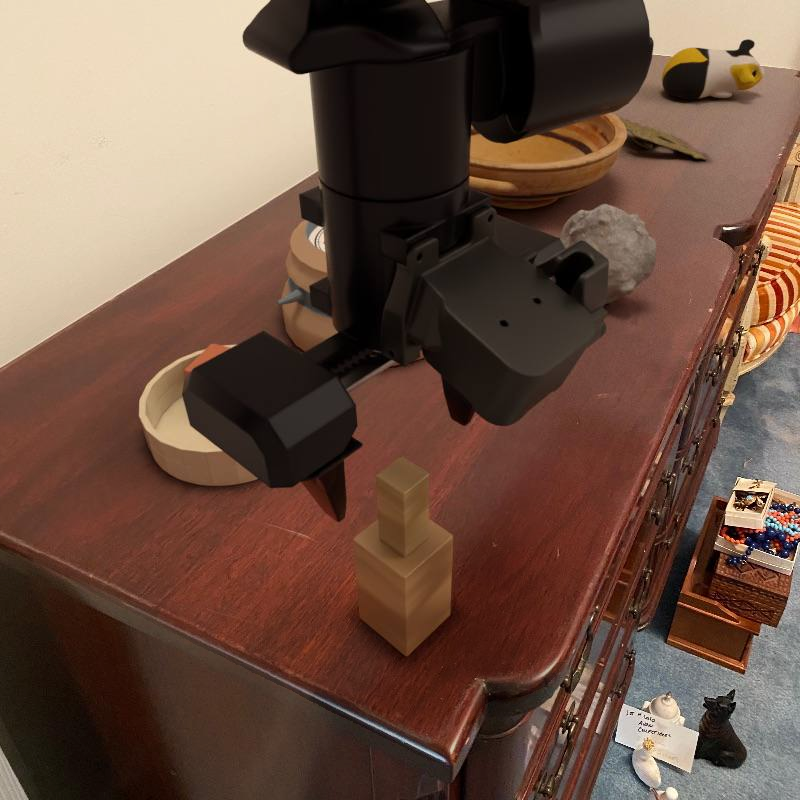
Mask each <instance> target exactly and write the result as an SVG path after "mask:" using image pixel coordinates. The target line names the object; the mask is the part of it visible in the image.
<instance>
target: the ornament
mask: <svg viewBox="0 0 800 800" xmlns="http://www.w3.org/2000/svg"><path fill="white" fill-rule="evenodd" d="M617 117H618V118H619V119H620V120H621V121H622V122H623V123H624V125H625V127H626V129H627V132H629V133H630V134H631V135H633V136H635V137H633V138H632V141H634V143H636V145H638V146H639V147H640V148H645V149H652V148H653V146H654V145H653V144H655V145H658V146H662V147H665V148H667V149H670V150H673V151H677V152H680V153H683V154H685V155H688V156H691V157H692V158H694V159H697V160H700V159H701V160H704V161H707V160H708V159H707V157H706V156H704V154H703V153H699V152H696V151H695V150H694V149H693V148H691V147H689V146H687V144H686V143H684V142H683V141H681V140H679V139H678V138H676V137H673V136H672V135H669V134H668V133H666V132H663V131H661V130H658V129H656V128H654V127H652V128H651V127H649V126H647V125H641V124H639V122H633V121H632V120H629V119H627V118H626V119H624V118H622V117H619V116H617ZM652 143H653V144H652Z"/></svg>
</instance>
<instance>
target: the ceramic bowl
mask: <svg viewBox="0 0 800 800" xmlns="http://www.w3.org/2000/svg"><path fill="white" fill-rule="evenodd" d="M618 117H619V116H617V115H616V114H614V112H611V113H608V114H605V115H601V116H598V117H595V118H591V119H588V120H585V121H581V122H578V123H575V124H571V125H568V126H565V127H561V128H558V129H555V130H551V131H548V132H545V133H541V134H538V135H535V136H531V137H528V138H525V139H521V140H518V141H514V142H511V143H507V144H502V143H494V142H492V141H489V140H488V139H486V138H484V137H483V136H482V135H481V134H480V133H478V132H477V131H476V130H475V129H474V128H473V126H472V125H471V147H470V178H469V188H472V189H474V190H477V191H480V192H483V193H485V194H488V195H491V196H492V201H491V206H492V207H496V208H504V209H509V210H511V209H512V210H528V209H535V208H536V209H537V208H540V207H541V208H542V207H545V206H548V205H550V204H552V203H554V202H556V201H557V200H558V199H559V198H564V197H568V196H571V195H574V194H577V193H579V192H582V191H584V190H586V189H587V188H589V187H591V186H592V185H594V184H596V183H597V182H598V181H600V179H602V178H603V177H604V176H605V175H606V174H607V173H608V172H609V171H610V170H611V168H612V167H613V165H614V164H615V162H616V160H617V158H618V156H619V154H620V152H621V150H622V147H623V146H624V143H625V142H626V140H627V138H628V131H627V129H626V127H625V125H624V123H623V122H622V121H621V120H620V119H619V118H620V117H619V118H618Z"/></svg>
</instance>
